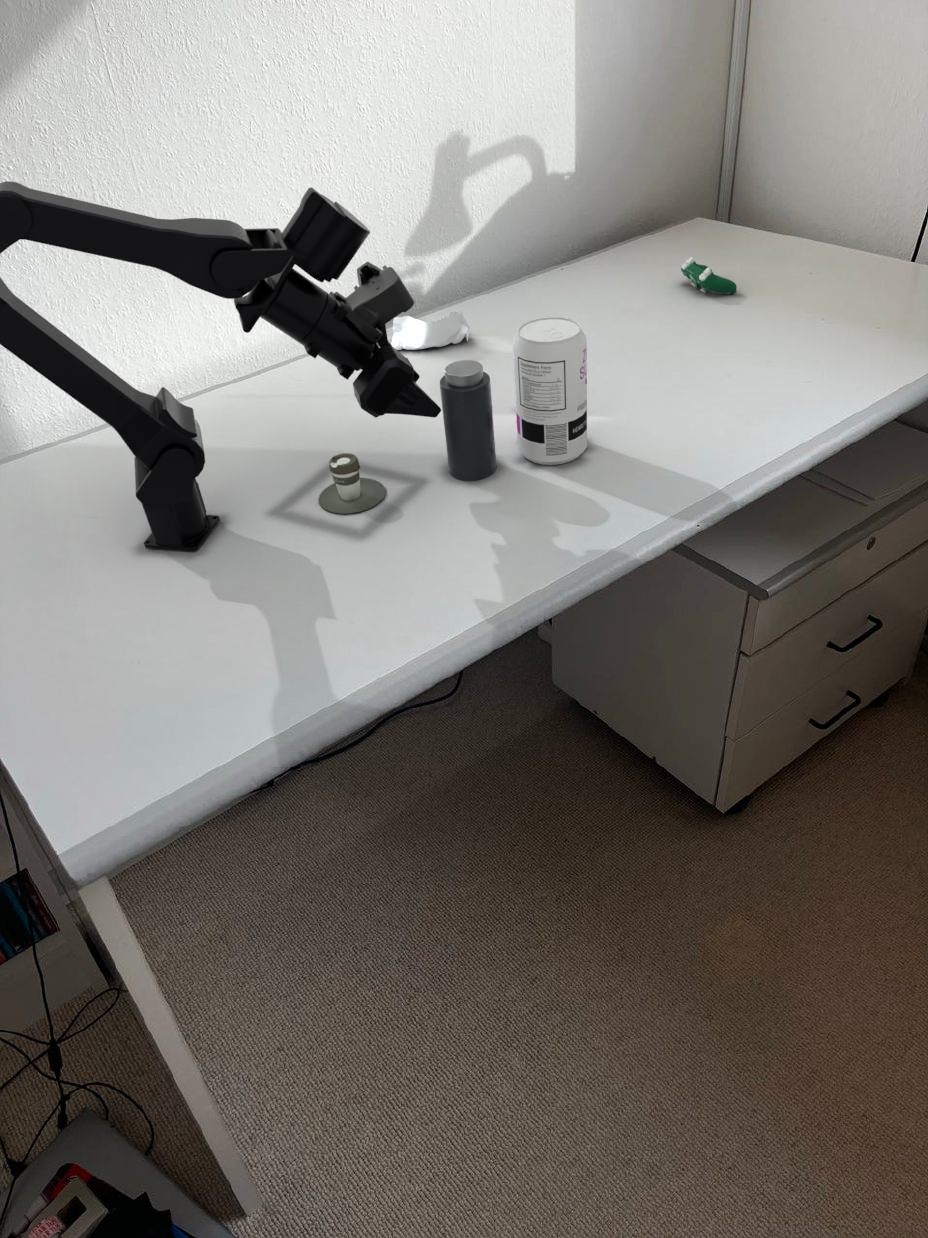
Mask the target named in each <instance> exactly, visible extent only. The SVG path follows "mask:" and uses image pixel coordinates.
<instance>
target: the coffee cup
mask: <svg viewBox="0 0 928 1238" xmlns="http://www.w3.org/2000/svg"><path fill="white" fill-rule="evenodd" d="M328 467H329V468H328V469H329V471H330V473H331V476H332V481H333V483H332V484H330V485H328V486H327V487H326V488H324V489H323V490H322V491H321V492H320V494H319V496H318V504H319V506H320V507H321V508H322V509H323V510H325V511H326V512H329V513H332V514H337V515H352V514H359V513H362V512H365V511H368V510H370V509H373V508H374V507H376V506H378V505H379V504H380V503H381V502H382V501H383V499H384V497H385V496H386V487H385V486H384V485H383V483H381V482H380V481H378V480H376V479H372V478H370V477H369V478H368V477H360V476H361V475H360V469H361V465H360V461H359V458H358V457H357V456H356V455H355V454H353V453H347V452H345V453H343V452H342V453H338V454H336V455H333V456H332V457H331V458H330V459H329V465H328Z"/></svg>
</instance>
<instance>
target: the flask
mask: <svg viewBox="0 0 928 1238" xmlns="http://www.w3.org/2000/svg"><path fill="white" fill-rule="evenodd" d="M491 388H492V387H491V377H490V375H489V373H487V372H485V371H484V367H483V364H482V363H481V362H479V361H477V360H473V359H463V360H457V361H453V362H451V363H449V364H448V365H446V366H445V368H444V375H443V376H442V377H440V380H439V390H440V391H439V392H440V400H441V401H440V402H441V411H442V417H443V418H442V419H443V427H444V437H445V445H446V453H447V463H448V472H449V474H450V475H451V476H452V477H453V478H455V479H458V480H460V481H461V480H462V481H466V482H467V481H471V482H472V481H478V480H482V479H486V478H487V477H490V476H492V475H493V474H495V472H496V470H497V456H496V455H497V454H496V453H497V452H496V441H495V440H496V439H495V429H494V427H495V426H494V415H493V414H494V413H493V400H492V399H493V398H492V389H491Z"/></svg>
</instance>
